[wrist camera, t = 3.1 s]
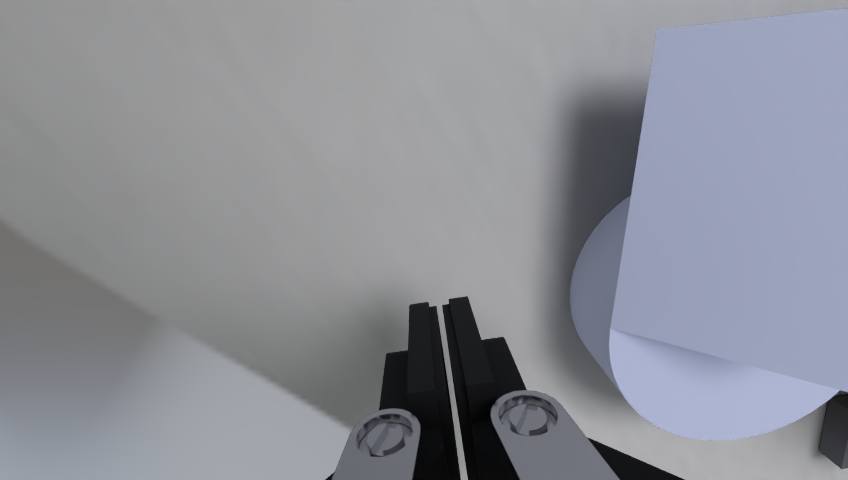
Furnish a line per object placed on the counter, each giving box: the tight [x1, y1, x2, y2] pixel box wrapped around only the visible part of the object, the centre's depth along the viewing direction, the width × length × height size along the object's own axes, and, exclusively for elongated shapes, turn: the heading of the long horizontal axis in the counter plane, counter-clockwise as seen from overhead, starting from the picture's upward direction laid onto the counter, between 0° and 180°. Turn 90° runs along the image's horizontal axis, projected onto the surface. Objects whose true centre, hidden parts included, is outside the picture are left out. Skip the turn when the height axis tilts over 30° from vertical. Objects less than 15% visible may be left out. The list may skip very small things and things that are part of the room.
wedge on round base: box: [570, 8, 848, 441], centre depth 12 cm, size 9×7×13 cm
